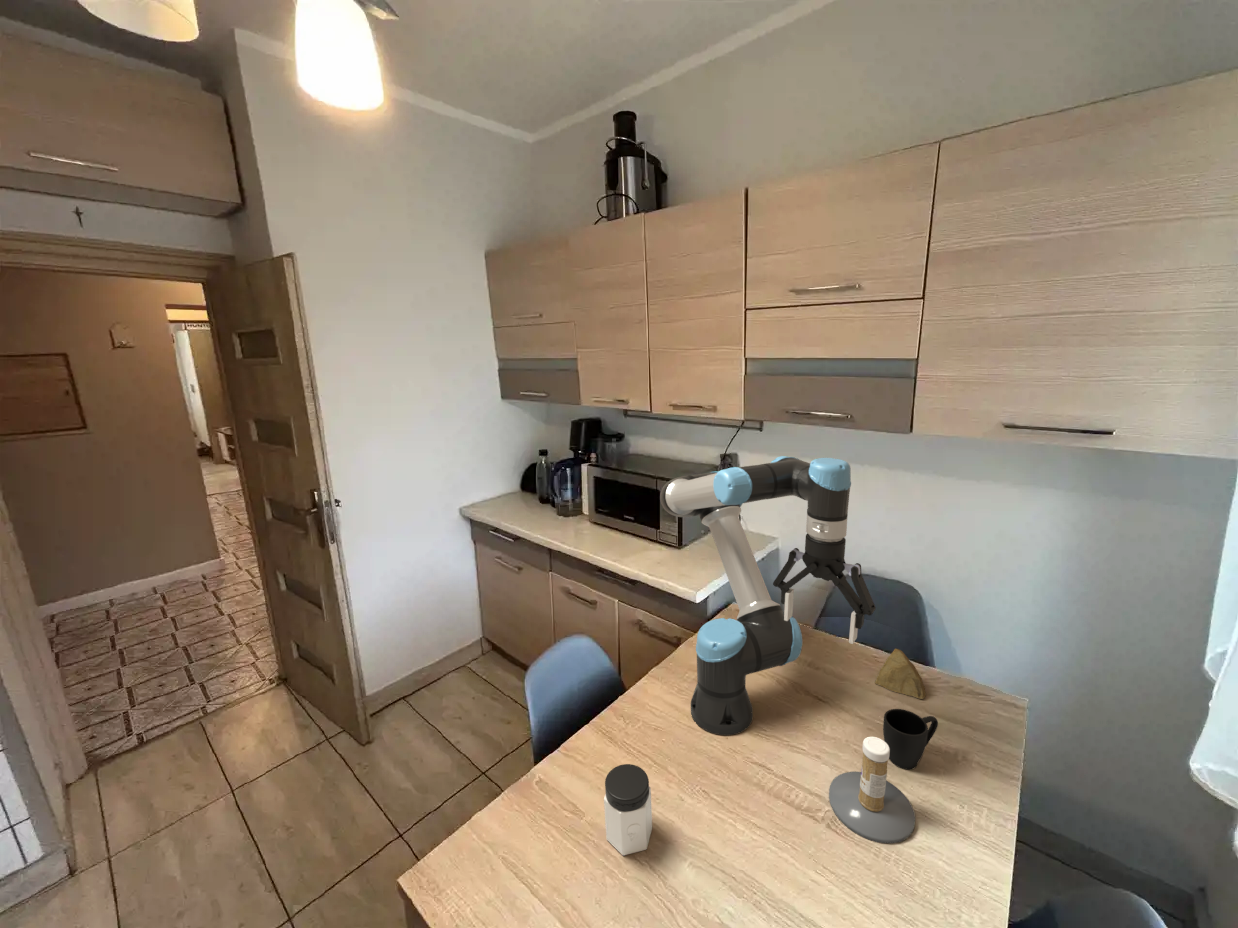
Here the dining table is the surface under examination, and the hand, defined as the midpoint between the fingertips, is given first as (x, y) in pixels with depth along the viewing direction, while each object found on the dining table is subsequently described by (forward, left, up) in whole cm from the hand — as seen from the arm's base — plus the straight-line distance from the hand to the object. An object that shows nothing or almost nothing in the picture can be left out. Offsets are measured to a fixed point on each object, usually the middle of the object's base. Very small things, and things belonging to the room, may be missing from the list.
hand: (819, 628), depth 107 cm
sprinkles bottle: (+14, -8, -29) cm, 33 cm away
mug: (+17, +10, -30) cm, 36 cm away
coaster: (+14, -8, -30) cm, 34 cm away
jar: (-19, -42, -30) cm, 55 cm away
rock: (+10, +33, -30) cm, 46 cm away
